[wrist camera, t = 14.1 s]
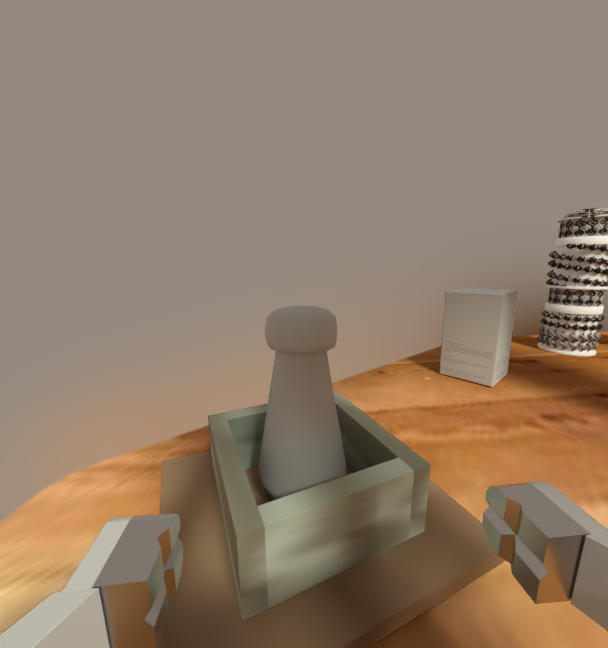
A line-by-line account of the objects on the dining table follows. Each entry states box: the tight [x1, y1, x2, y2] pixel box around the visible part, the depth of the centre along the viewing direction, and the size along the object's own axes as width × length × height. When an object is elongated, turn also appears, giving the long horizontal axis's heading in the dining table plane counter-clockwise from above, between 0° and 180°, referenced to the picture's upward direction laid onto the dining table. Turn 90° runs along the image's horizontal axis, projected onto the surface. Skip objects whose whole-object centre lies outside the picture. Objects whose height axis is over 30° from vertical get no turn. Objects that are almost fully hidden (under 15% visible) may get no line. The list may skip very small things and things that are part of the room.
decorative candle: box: [537, 208, 608, 356], centre depth 53 cm, size 9×9×25 cm
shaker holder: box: [159, 390, 505, 648], centre depth 20 cm, size 18×16×6 cm
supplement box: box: [440, 288, 518, 387], centre depth 43 cm, size 7×7×13 cm
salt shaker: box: [258, 306, 346, 501], centre depth 19 cm, size 6×6×13 cm
